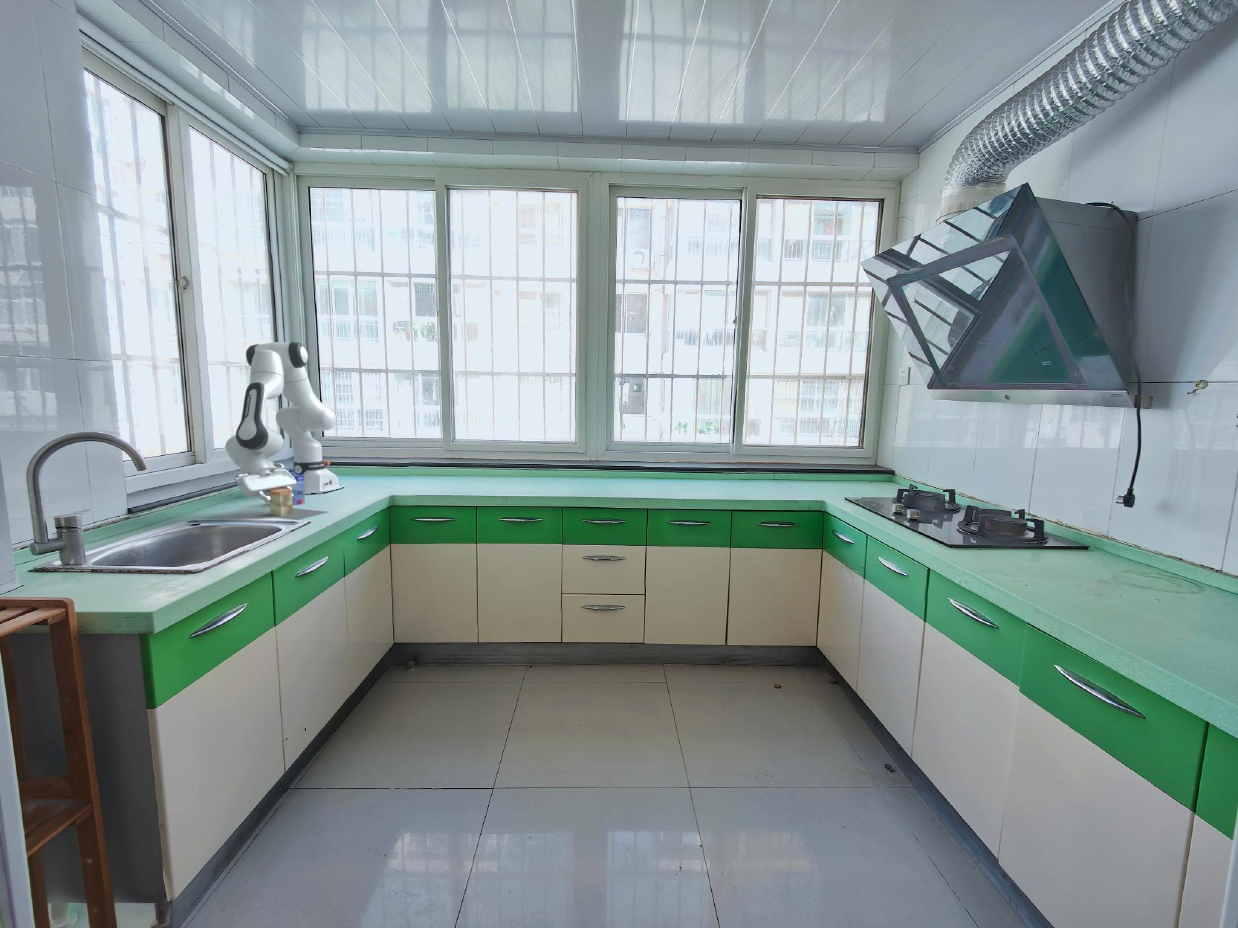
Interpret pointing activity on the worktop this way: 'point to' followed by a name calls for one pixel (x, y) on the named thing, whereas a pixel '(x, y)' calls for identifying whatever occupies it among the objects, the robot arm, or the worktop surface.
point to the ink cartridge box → (298, 489)
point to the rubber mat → (297, 514)
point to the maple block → (281, 502)
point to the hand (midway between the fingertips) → (280, 499)
